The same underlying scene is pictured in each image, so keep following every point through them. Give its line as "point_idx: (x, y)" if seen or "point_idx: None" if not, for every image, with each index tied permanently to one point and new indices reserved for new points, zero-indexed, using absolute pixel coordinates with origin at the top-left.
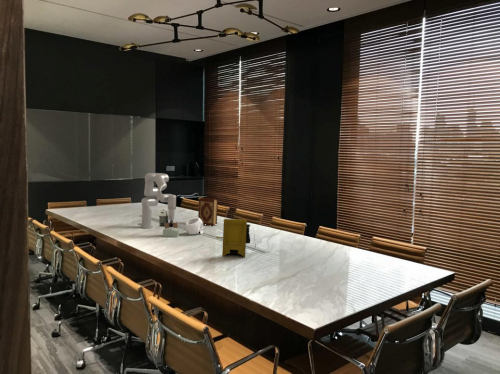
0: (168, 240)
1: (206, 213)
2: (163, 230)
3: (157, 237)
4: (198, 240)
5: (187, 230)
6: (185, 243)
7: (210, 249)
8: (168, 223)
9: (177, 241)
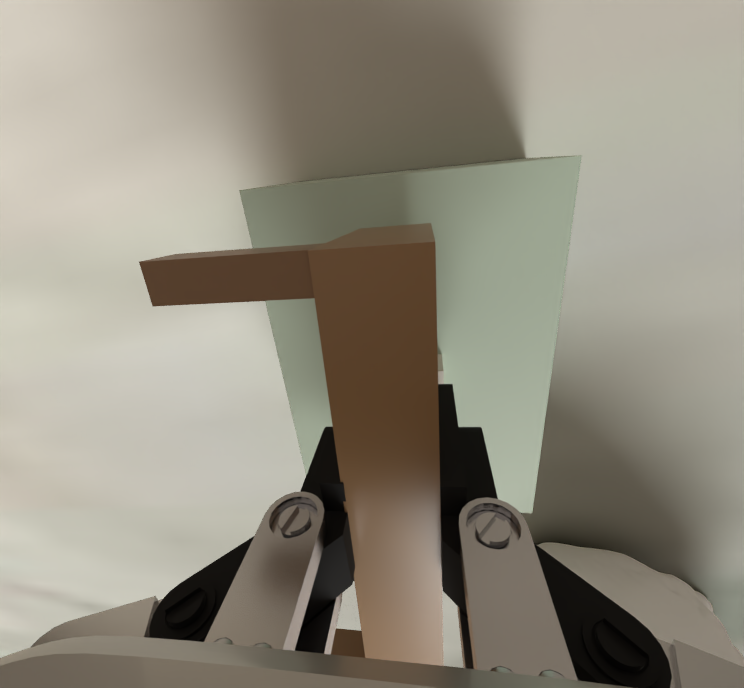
0: (92, 335)
1: None
2: (254, 208)
3: (206, 80)
4: None
5: None
6: (70, 511)
7: (15, 634)
8: (340, 436)
9: (105, 441)
